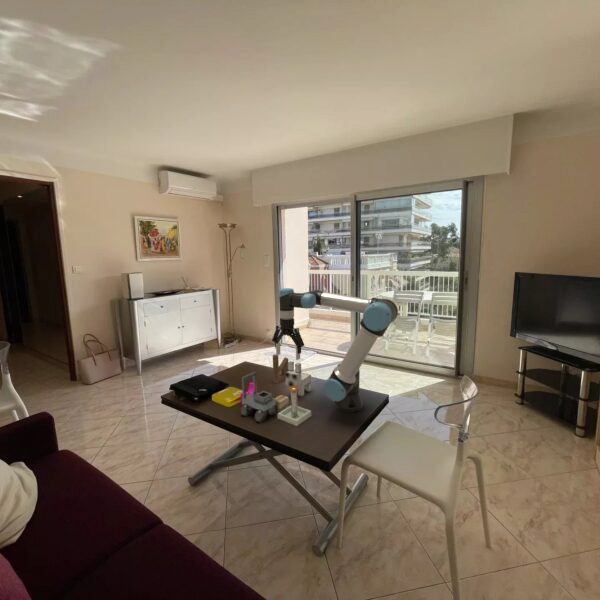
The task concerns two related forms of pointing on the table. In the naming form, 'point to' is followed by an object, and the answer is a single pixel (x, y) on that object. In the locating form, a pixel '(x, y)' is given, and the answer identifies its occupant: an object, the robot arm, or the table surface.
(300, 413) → the tray
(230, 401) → the yellow square case
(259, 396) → the trolley
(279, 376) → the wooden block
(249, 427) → the table surface
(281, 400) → the chock
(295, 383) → the toy llama
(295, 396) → the pin
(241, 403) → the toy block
